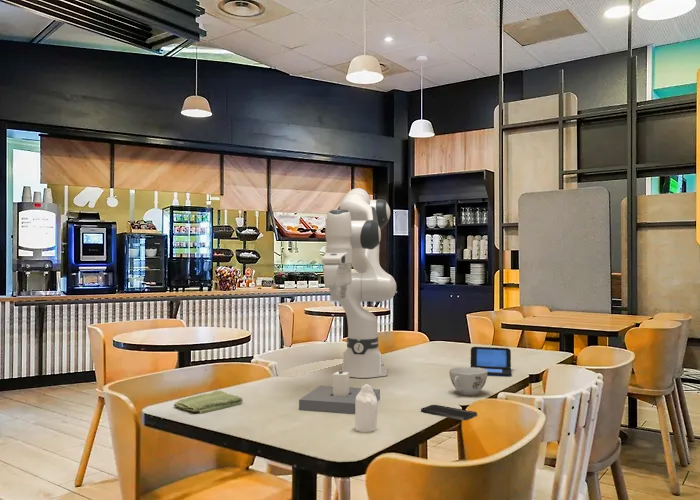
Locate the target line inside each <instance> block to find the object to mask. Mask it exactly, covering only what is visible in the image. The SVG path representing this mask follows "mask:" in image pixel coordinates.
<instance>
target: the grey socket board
mask: <svg viewBox="0 0 700 500" xmlns="http://www.w3.org/2000/svg"><path fill="white" fill-rule="evenodd" d="M361 388H362V387H350V386H349V396H348V397H342V396H333V385H332V386H331V385H319V386H318V387H316V388H315V389H313V390H311V391H310V392H308V393H307V394H305V395H304V396H302V397H301V398H299V399H298V410H299V411H313V412H323V413H325V412H326V413H338V414H353V415H355V401H356V400H355V399H356V396H357V395H358V393H359V392H360V390H361ZM372 389H373V391H374V393H375V395H376V398H377V402H378V401H379V400H380V399H381V389H380V388H379V389H378V388H372Z"/></svg>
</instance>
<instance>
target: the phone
mask: <svg viewBox="0 0 700 500" xmlns="http://www.w3.org/2000/svg"><path fill="white" fill-rule="evenodd" d="M420 412H421V413H422V412H423V414H428V415H433V416H438V417H444V418H449V419H455V420H460V421H469V420H470V419H473V418H475V417H477V416H478V412H477V411H474V410H473V411H472V410H468V411H467V409H461V408H456V407H450V406H445V405H440V404H439V405H438V404H430V405H427V406H425V407H422V408H421V409H420Z"/></svg>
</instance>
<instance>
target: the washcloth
mask: <svg viewBox="0 0 700 500" xmlns="http://www.w3.org/2000/svg"><path fill="white" fill-rule="evenodd" d="M243 401H244V400H243V398H242V397H241V396H238V395H234V394H231V393H227V392H225V391H222V390H214V391H212V392H208V393H203V394H199V395H194V396H190V397H187V398H181V399H179V400H177V401H176V402H175V403H174V404H173V406H174V407H176V409H181V410H184V411H189V412H193V413H197V414H199V415H202V414H206V413H209V412H215V411H218V410H222V409H223V410H224V409H227V408H231V407H235V406H240V405H241V404H242V403H243Z"/></svg>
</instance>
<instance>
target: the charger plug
mask: <svg viewBox="0 0 700 500" xmlns="http://www.w3.org/2000/svg"><path fill="white" fill-rule="evenodd" d="M332 386H333V396H342V397H348V396H349V387H350V377H349V372H343V371H340V372H339V371H336V372H335V373H333V374H332Z"/></svg>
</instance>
